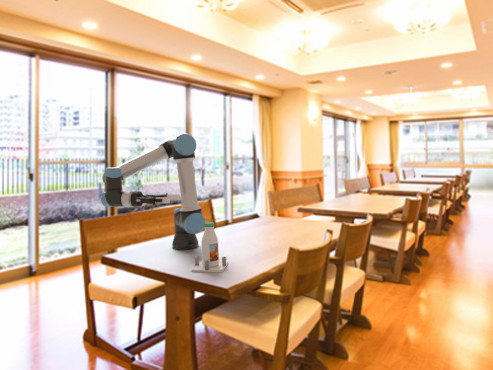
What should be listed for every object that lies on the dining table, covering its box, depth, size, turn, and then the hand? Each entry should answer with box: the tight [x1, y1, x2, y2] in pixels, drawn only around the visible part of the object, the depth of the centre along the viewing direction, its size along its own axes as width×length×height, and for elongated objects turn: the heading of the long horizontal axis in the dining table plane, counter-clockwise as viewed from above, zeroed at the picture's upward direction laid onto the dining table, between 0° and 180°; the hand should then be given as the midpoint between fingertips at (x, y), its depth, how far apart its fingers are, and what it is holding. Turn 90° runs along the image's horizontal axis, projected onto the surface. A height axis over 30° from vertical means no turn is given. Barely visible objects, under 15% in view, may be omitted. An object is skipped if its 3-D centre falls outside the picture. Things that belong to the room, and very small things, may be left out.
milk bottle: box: [201, 221, 220, 267], centre depth 163 cm, size 8×8×20 cm
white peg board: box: [191, 255, 229, 273], centre depth 163 cm, size 15×15×5 cm
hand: (174, 198), depth 168 cm, fingers open, 13 cm apart
